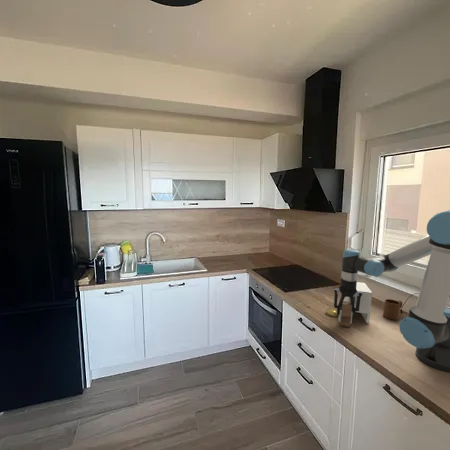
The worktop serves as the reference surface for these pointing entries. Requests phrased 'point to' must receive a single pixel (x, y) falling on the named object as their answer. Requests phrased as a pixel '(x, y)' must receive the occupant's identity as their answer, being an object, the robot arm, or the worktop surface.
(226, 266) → the worktop surface
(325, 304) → the worktop surface
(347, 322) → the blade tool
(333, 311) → the brass token
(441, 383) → the worktop surface
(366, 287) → the cabinet
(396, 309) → the mug
